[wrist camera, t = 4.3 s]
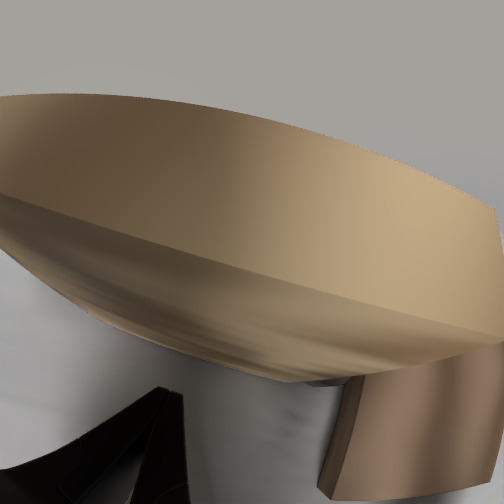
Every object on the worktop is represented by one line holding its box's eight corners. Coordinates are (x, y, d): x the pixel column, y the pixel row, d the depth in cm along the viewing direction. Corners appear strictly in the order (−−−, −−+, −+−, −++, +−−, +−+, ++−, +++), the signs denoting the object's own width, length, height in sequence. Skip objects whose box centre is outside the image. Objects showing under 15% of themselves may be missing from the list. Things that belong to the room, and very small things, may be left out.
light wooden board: (335, 357, 16) (560, 252, 3) (327, 391, 15) (570, 353, 2) (114, 291, 16) (-32, 100, 4) (102, 321, 15) (-81, 164, 3)
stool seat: (491, 310, 18) (511, 300, 16) (468, 478, 12) (489, 481, 10) (364, 271, 19) (380, 255, 16) (316, 486, 13) (330, 500, 10)
